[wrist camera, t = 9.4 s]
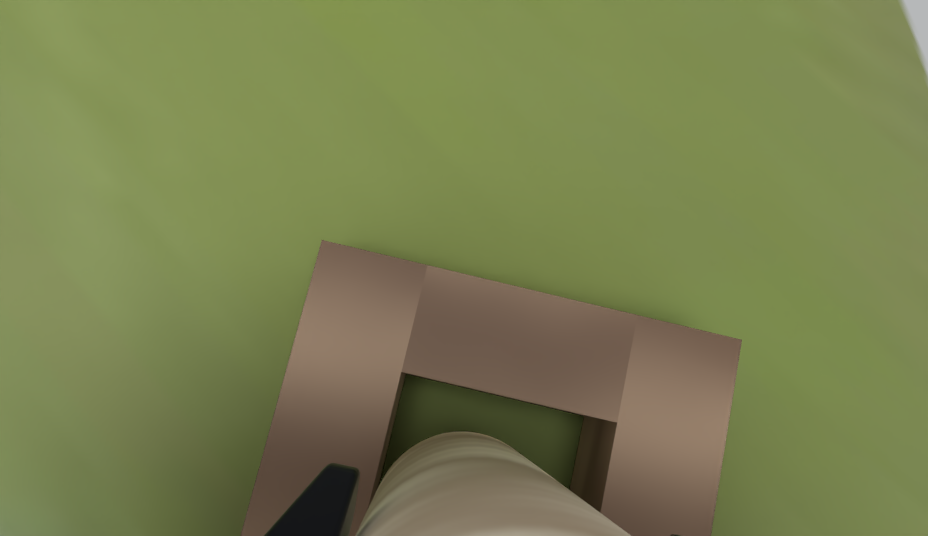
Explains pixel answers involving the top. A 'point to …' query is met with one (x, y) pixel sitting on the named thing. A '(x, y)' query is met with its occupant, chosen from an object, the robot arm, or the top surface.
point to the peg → (476, 494)
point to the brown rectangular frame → (499, 386)
